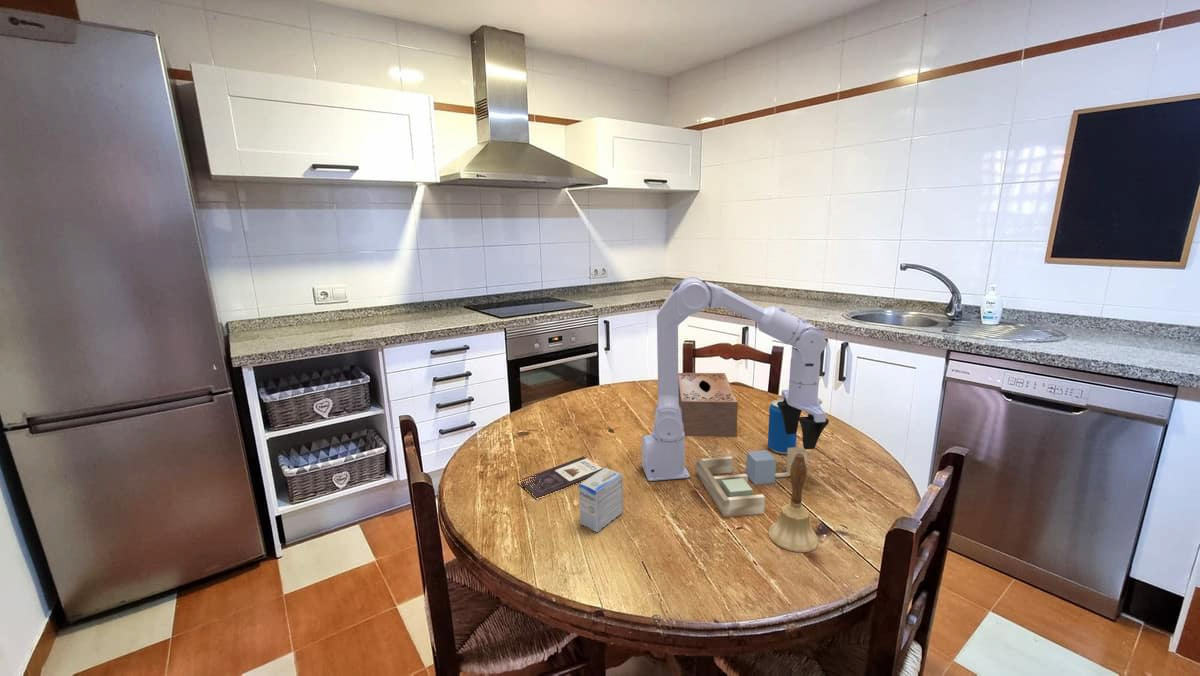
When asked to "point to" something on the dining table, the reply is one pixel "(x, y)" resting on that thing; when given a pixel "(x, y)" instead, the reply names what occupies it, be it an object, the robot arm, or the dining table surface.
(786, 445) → the beverage can
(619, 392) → the dining table surface
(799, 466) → the hand bell
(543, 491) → the chocolate bar
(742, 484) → the plain block
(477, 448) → the dining table surface
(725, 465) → the rack
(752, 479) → the corded block
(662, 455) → the robot arm
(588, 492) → the medicine box
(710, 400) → the tissue box cover
